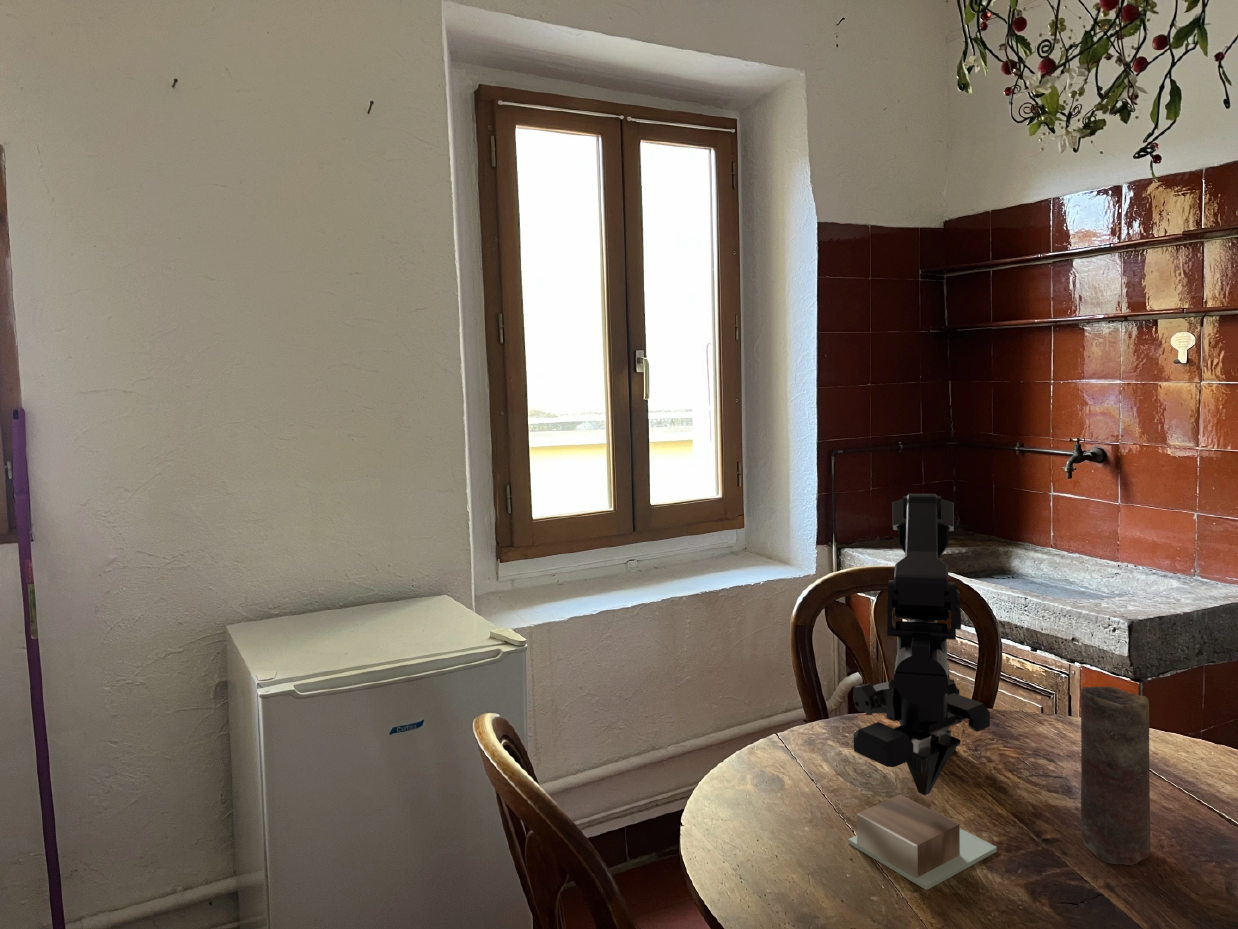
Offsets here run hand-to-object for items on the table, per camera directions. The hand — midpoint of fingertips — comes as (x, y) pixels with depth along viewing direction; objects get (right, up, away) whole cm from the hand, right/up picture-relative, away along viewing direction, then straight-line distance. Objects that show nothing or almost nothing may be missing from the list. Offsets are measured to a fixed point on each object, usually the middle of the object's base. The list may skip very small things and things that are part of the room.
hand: (923, 793), depth 107 cm
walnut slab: (+1, -4, +1) cm, 5 cm away
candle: (+23, -6, -2) cm, 24 cm away
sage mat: (0, -7, +1) cm, 7 cm away
